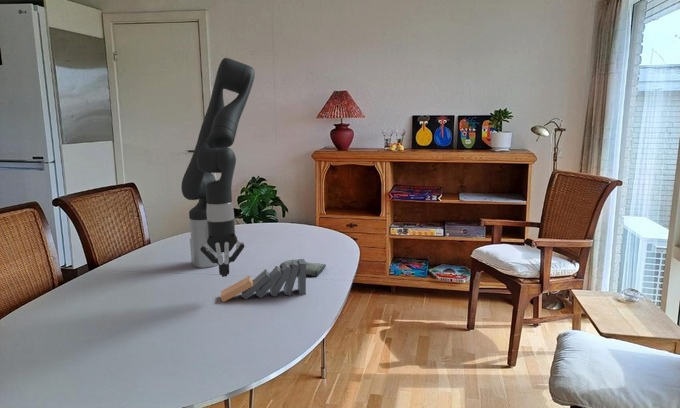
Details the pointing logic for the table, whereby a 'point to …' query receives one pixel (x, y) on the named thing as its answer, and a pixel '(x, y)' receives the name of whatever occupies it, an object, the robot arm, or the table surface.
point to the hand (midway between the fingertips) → (224, 275)
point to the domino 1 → (236, 288)
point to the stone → (309, 268)
